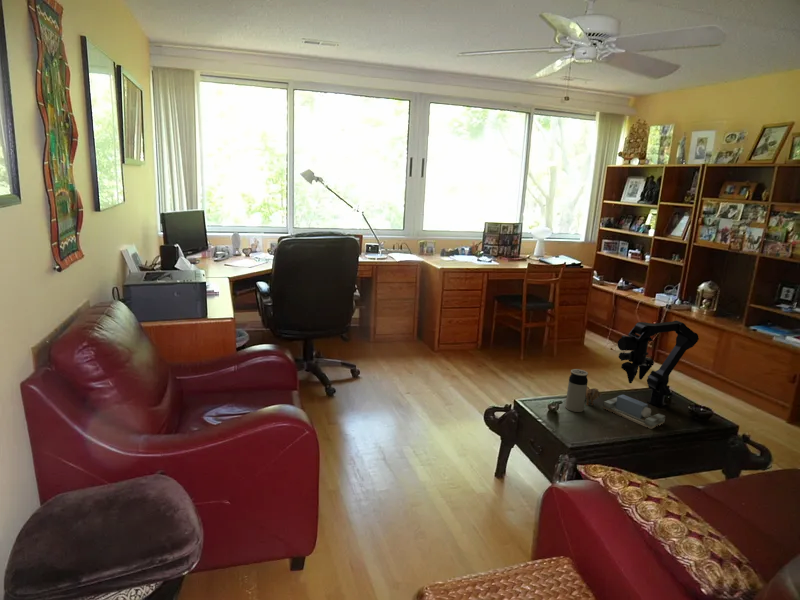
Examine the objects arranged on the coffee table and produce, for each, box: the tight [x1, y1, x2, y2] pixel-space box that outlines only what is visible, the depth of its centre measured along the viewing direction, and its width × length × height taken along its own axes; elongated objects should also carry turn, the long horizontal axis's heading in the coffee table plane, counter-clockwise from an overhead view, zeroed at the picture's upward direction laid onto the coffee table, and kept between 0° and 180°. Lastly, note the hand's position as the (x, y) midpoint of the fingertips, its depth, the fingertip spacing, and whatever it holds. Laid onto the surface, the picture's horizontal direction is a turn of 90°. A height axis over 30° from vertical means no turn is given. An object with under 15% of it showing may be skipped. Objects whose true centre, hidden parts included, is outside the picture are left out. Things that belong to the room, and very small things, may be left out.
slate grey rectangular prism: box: [616, 394, 652, 419], centre depth 228 cm, size 4×14×6 cm, turn 35°
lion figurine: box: [585, 385, 602, 406], centre depth 240 cm, size 15×5×9 cm, turn 11°
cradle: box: [602, 396, 666, 430], centre depth 228 cm, size 11×23×4 cm, turn 35°
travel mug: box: [565, 368, 589, 413], centre depth 230 cm, size 8×8×18 cm
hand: (635, 381), depth 238 cm, fingers open, 9 cm apart
